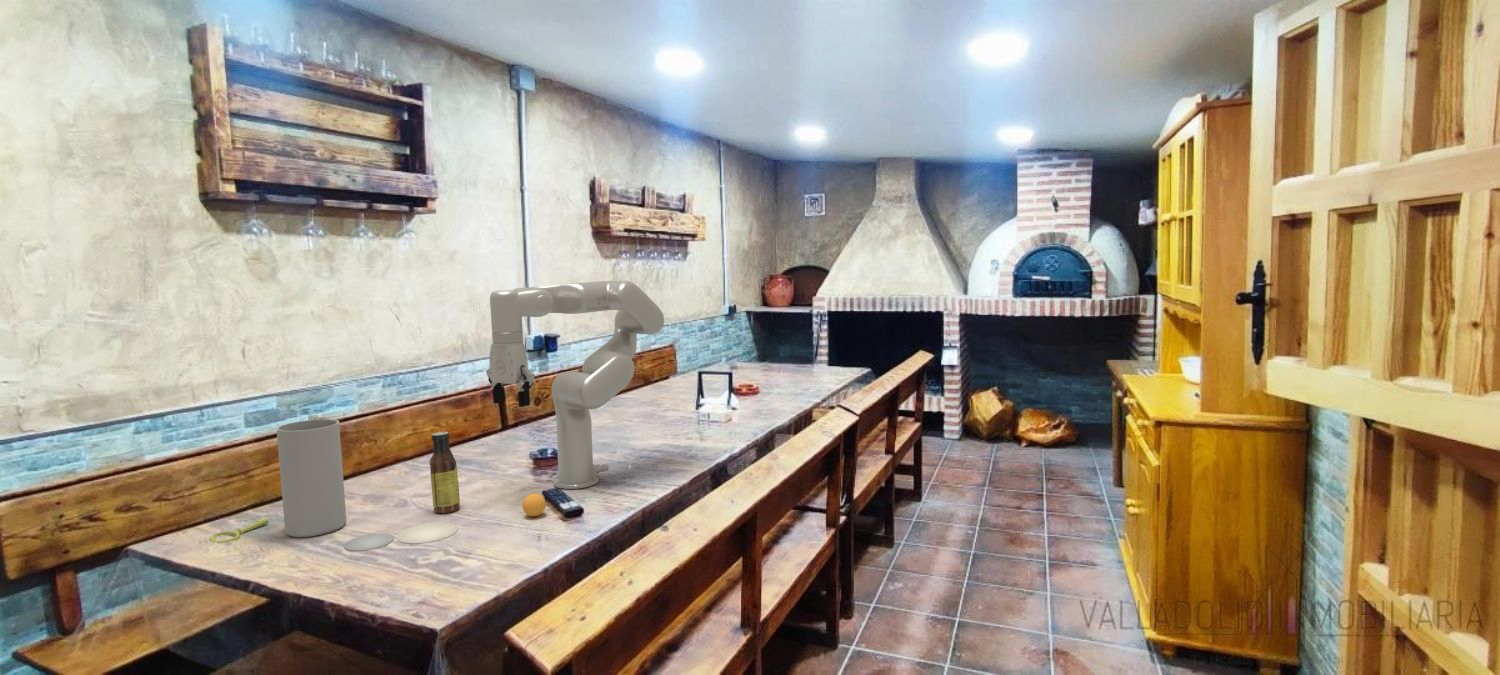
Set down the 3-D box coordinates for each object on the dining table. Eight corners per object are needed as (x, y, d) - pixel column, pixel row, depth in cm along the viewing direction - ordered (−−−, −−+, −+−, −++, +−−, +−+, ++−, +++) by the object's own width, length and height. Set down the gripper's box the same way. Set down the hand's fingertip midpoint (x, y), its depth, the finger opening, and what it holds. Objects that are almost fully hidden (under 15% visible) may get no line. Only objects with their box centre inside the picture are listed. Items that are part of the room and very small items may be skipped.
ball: (539, 510, 182) (538, 489, 182) (550, 515, 178) (549, 494, 178) (519, 515, 179) (518, 494, 178) (529, 521, 175) (528, 499, 174)
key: (271, 525, 176) (270, 517, 176) (230, 545, 164) (229, 536, 163) (243, 525, 177) (242, 517, 176) (201, 545, 164) (200, 536, 164)
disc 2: (446, 519, 177) (446, 518, 177) (466, 532, 168) (466, 532, 168) (389, 532, 168) (388, 532, 168) (407, 548, 159) (407, 547, 159)
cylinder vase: (310, 541, 164) (302, 432, 161) (272, 534, 169) (263, 428, 166) (358, 522, 176) (351, 421, 173) (321, 517, 180) (314, 417, 178)
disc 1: (386, 530, 170) (386, 529, 170) (400, 542, 163) (400, 541, 163) (338, 542, 163) (338, 541, 163) (350, 554, 156) (350, 553, 156)
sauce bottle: (465, 508, 185) (461, 431, 183) (446, 515, 179) (441, 437, 177) (446, 504, 188) (442, 429, 186) (427, 512, 182) (422, 434, 180)
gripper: (473, 338, 188) (477, 404, 189) (518, 341, 178) (522, 410, 180) (497, 335, 194) (501, 399, 196) (542, 338, 185) (546, 404, 187)
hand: (511, 404), depth 188 cm, fingers open, 9 cm apart
